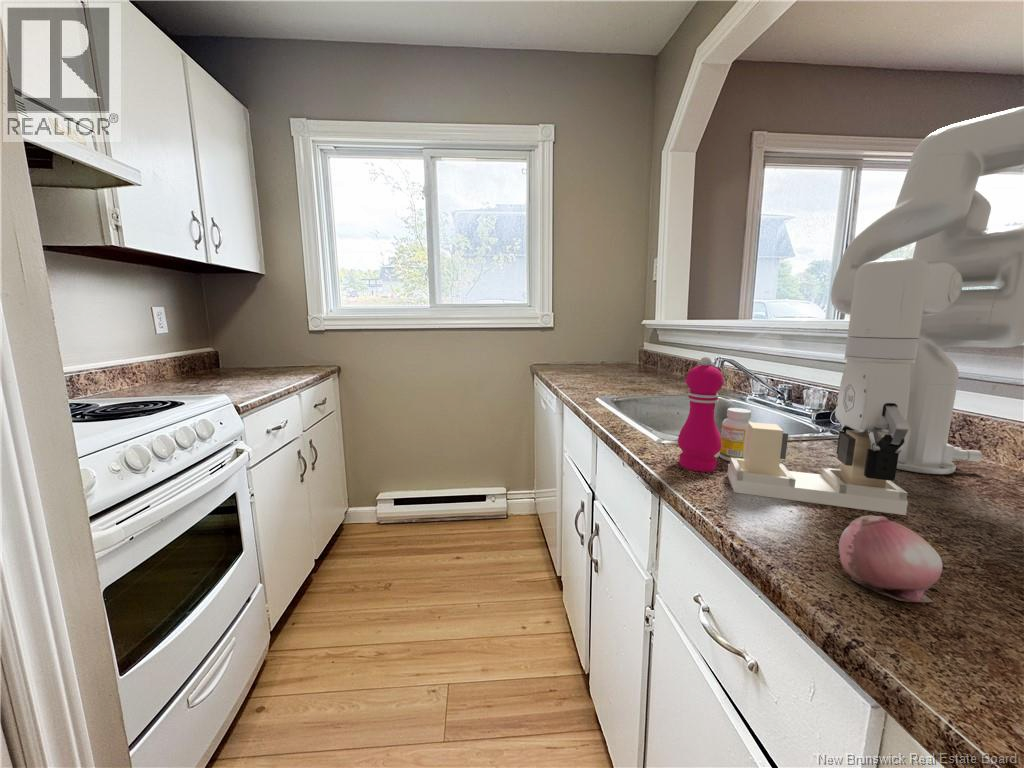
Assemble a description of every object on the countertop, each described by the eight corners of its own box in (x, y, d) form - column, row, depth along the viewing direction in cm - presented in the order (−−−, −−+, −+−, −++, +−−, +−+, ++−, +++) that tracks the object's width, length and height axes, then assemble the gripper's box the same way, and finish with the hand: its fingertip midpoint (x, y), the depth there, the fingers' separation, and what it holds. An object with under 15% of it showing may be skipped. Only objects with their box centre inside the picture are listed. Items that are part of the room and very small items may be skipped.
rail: (879, 493, 64) (888, 430, 62) (905, 515, 56) (917, 445, 55) (727, 475, 71) (732, 418, 69) (734, 492, 64) (740, 429, 62)
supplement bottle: (731, 464, 76) (735, 413, 75) (712, 454, 82) (716, 407, 80) (757, 462, 77) (762, 412, 76) (737, 453, 82) (741, 406, 81)
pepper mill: (724, 474, 71) (735, 359, 68) (680, 471, 72) (688, 358, 69) (713, 460, 78) (722, 355, 75) (673, 458, 79) (680, 354, 76)
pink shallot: (830, 566, 46) (846, 504, 47) (925, 602, 41) (942, 533, 42) (833, 579, 40) (851, 507, 40) (945, 623, 35) (965, 541, 35)
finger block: (871, 483, 62) (879, 432, 61) (884, 494, 59) (892, 439, 57) (833, 479, 64) (840, 429, 63) (843, 488, 60) (850, 436, 59)
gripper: (825, 346, 67) (813, 447, 70) (875, 354, 51) (857, 485, 54) (882, 347, 65) (867, 452, 67) (954, 356, 49) (930, 493, 51)
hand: (862, 466), depth 61 cm, fingers open, 9 cm apart
